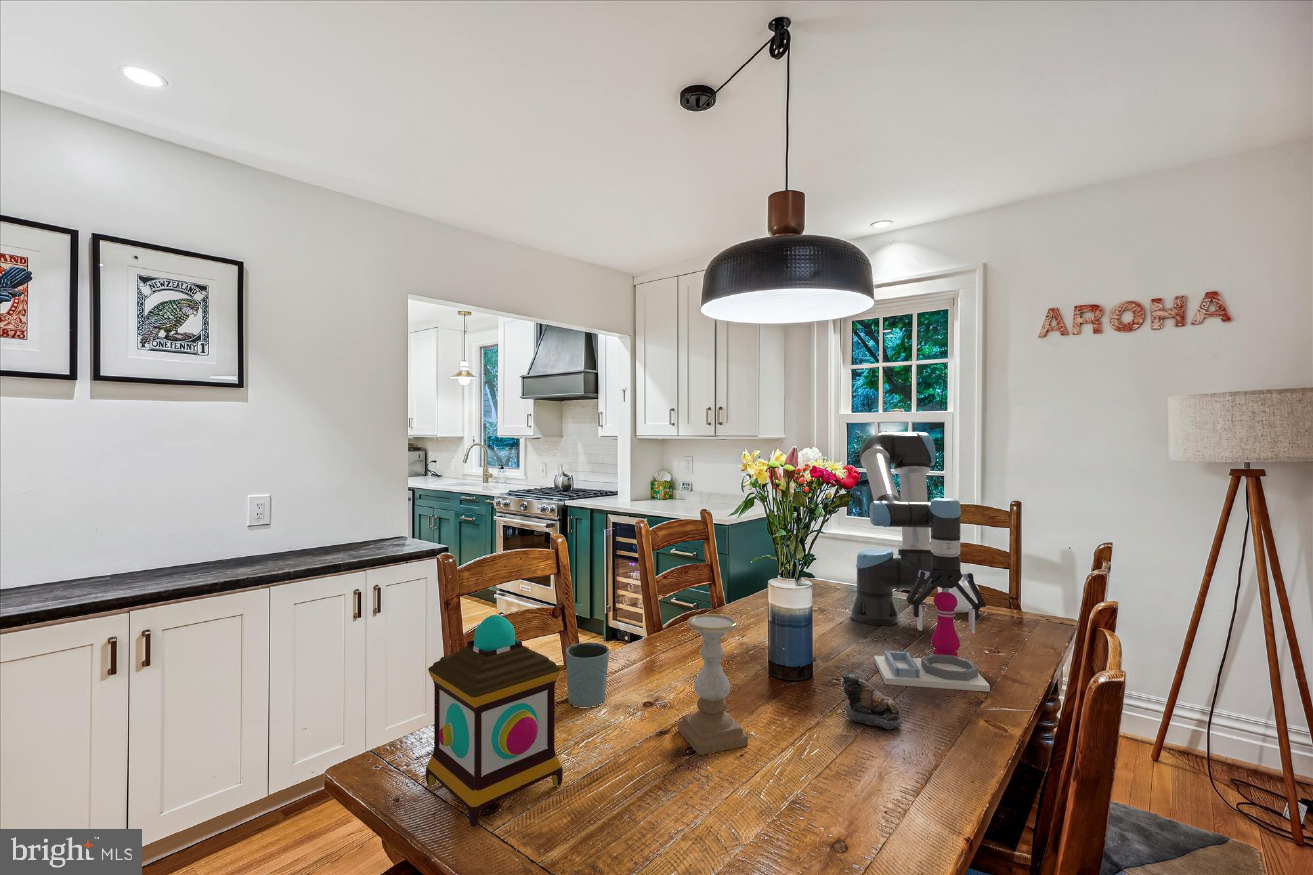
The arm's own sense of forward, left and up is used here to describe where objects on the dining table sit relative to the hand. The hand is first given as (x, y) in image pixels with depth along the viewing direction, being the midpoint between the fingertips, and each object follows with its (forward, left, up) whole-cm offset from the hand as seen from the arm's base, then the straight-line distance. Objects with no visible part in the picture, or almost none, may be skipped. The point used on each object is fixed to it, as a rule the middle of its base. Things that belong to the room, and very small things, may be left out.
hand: (945, 630), depth 167 cm
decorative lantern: (+81, -96, -8) cm, 126 cm away
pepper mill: (0, 0, -8) cm, 8 cm away
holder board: (+14, -8, -8) cm, 18 cm away
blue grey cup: (+45, -90, -8) cm, 101 cm away
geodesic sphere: (-50, +18, -8) cm, 54 cm away
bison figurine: (+45, -27, -8) cm, 53 cm away
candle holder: (+57, -60, -8) cm, 83 cm away
